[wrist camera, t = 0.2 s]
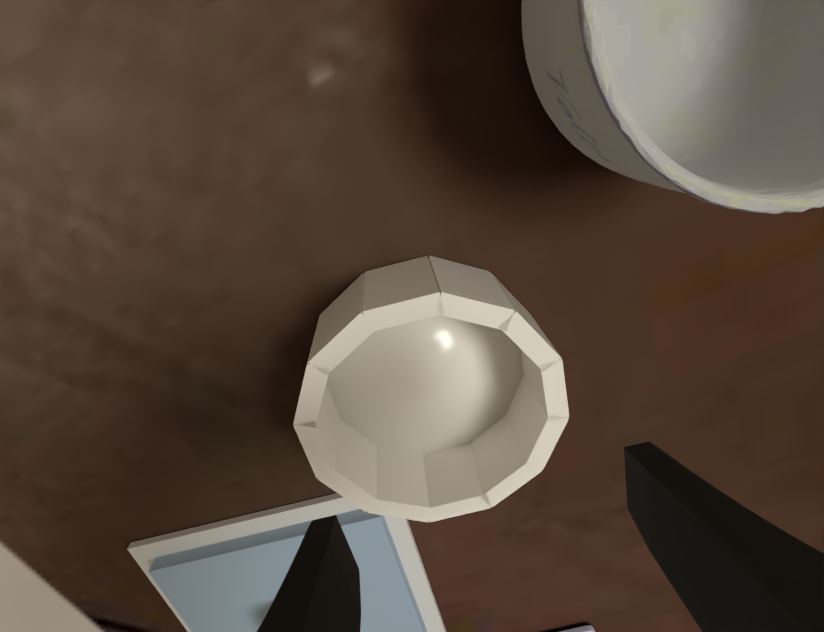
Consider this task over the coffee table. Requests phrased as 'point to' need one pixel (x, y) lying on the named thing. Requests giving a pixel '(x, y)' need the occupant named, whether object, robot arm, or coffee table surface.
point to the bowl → (429, 392)
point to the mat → (284, 517)
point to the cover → (266, 569)
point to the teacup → (689, 93)
